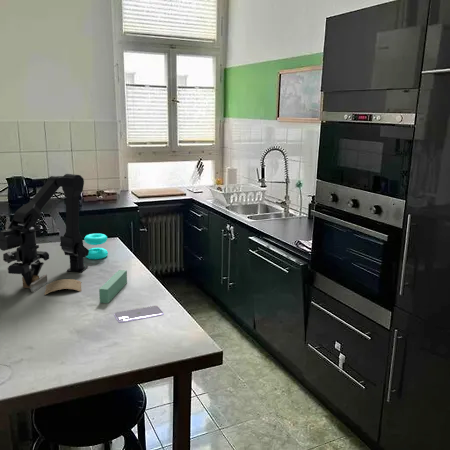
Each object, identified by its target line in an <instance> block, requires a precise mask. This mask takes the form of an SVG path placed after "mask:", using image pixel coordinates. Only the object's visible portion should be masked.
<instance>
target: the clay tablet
mask: <svg viewBox="0 0 450 450" xmlns="http://www.w3.org/2000/svg"><path fill="white" fill-rule="evenodd" d="M64 289H66V290H67V289H68V290H75V291H78V292H80V293H81V292H82V282H81V281H80V280H77V279H74V278H73V279H72V278H68V279H67V278H64V279H63V278H62V279H57V280H53V281H52V282H50V283H47V284H45V290H44V291H45V292H44V296H45V295H48V294H49V293H53V292H56V291H58V290H59V291H60V290H64Z"/></svg>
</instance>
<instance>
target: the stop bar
mask: <svg viewBox="0 0 450 450" xmlns="http://www.w3.org/2000/svg"><path fill="white" fill-rule="evenodd" d="M127 283H128V270H127V269H117V271H116V272H115V273H114V274H113V275H112V276H111V277H110V278H109V279H108V280H107V281H106V282H105V283H104V284H103V285H101V286H100V288H98V294H99V303H101V304H109V303H110V302H111V301H112V300H113V299H114V297H116V295H117V294H119V292H120V291H121V290H123V287H124V286H126V284H127Z"/></svg>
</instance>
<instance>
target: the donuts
mask: <svg viewBox="0 0 450 450" xmlns="http://www.w3.org/2000/svg"><path fill="white" fill-rule="evenodd" d="M83 240H84V241H83V242H84V243H86V244H87V245H89V246H90V245H92V246H97V245H98V246H99V245H102V244H105V243H106V242H107V241H108V236H107V235H106V234H104V233H89V234H86V235H85V237H84V238H83ZM88 250H89V253H88V256H86V257H85V258H86V259H89V260H101V259H105V258H107V256H108V254H109V252H108V250H107V249H106V248H104V247H92V248H89V249H88Z"/></svg>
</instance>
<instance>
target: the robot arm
mask: <svg viewBox="0 0 450 450" xmlns="http://www.w3.org/2000/svg"><path fill="white" fill-rule="evenodd" d="M84 184H85V179H84V177H83V176H81V174H73V173H65V174H64V175H57V176H56V175H50V176H49V177H48V178H47V181H46V182H45V183H44V184H43V185H42V186H41V188H40V189H39V190H38V192H37V193H36V194H35V195H34V196H33V197H32V199H31V200H29V202H27V203H26V204H23V205H22V206H21V207H19V208H18V209H17V210H16V211H15V212H14V214H13V217H12V220H11V222H10V224H9V226H8V227H7V229H6V230H0V250H1V251H2V252H3V251H4V253H2V254H3V256H2V259H3V261H4V262H5V263H7V264H10V263H11V262H14V263H12V264H10V265H9V266H8V267H7V273H8V274H12V275H14V274H15V275H21V276H22V277H23V278H24V280H25V282H26V284H27V286H30V284H31V282H32V278H33V275H38V276H39V274H40V272H41V270H42V267H43V266H44V264H45V262H41V259H43V260H44V261H48V260H49V259H50V253H48V252H47V251H41V250H39V251H38V249H39V248H40V245H39V244H37V235H36V231H40V230H41V227H39V225H37V223H38V221H39V219H40V218H41V215H42V213H41V212H42V210H43V208H44V207H45V206H46V205H47V204H48V203H49V202H50V200H51V199H52V198H53V196H54V195H55V194H56V192H57V191H58V190H59V189H60V188H61V189H62V191H63V193H64V195H65V232H64V234H63V235H60V237H59V238H60V239H59V240H60V242H59V243H60V244H59V247H61V250H62V251H63V254H64V255H65V256H69V268H68V269H66V272H75V273H83V272H84V271H85V270H86V269H87V268H88V267H89V266H88V265H85V258H87V257H86V256H88V253H89V249H88V248H87V247H86V246H85V245H84V241H83V240H84V238H83V237H82V235H81V233H80V229H79V228H80V196H81V194H82V192H83V191H84ZM15 248H16V250H14V251H11V252H10V251H8V250H11V249H15ZM5 251H8V252H5Z"/></svg>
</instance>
